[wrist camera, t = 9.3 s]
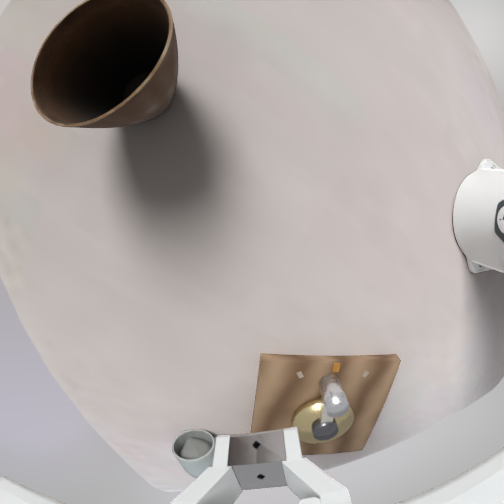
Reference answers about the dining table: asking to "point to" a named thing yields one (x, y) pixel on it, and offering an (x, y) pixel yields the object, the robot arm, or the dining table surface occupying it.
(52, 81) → the plant pot
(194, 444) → the ceramic mug
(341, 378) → the brown flat wooden board
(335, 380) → the brass and silver crank
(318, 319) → the dining table surface
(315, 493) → the robot arm
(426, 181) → the dining table surface
